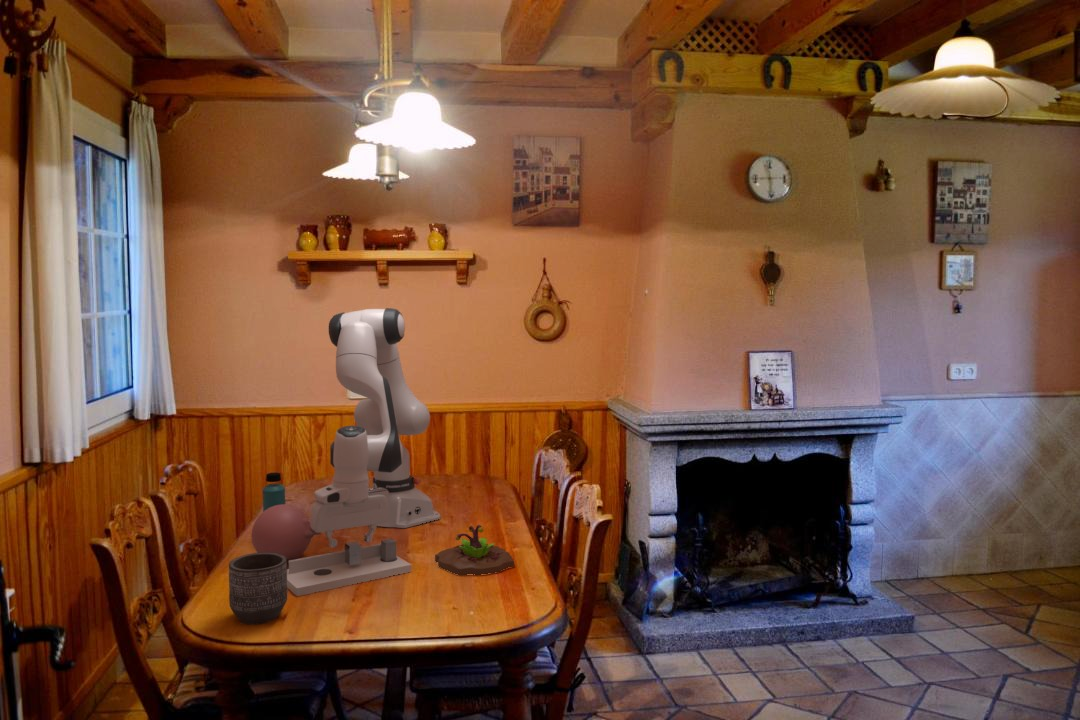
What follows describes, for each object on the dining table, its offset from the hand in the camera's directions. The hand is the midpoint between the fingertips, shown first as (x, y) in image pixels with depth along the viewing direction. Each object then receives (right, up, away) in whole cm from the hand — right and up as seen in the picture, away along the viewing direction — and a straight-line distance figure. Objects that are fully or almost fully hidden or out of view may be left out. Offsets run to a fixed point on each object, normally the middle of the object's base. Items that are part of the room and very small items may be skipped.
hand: (350, 544), depth 205 cm
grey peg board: (-1, -8, 0) cm, 8 cm away
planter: (-14, -10, -27) cm, 32 cm away
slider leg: (0, -5, +1) cm, 6 cm away
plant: (+31, -8, +11) cm, 34 cm away
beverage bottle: (-28, -6, +27) cm, 40 cm away
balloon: (-18, -7, +10) cm, 22 cm away
